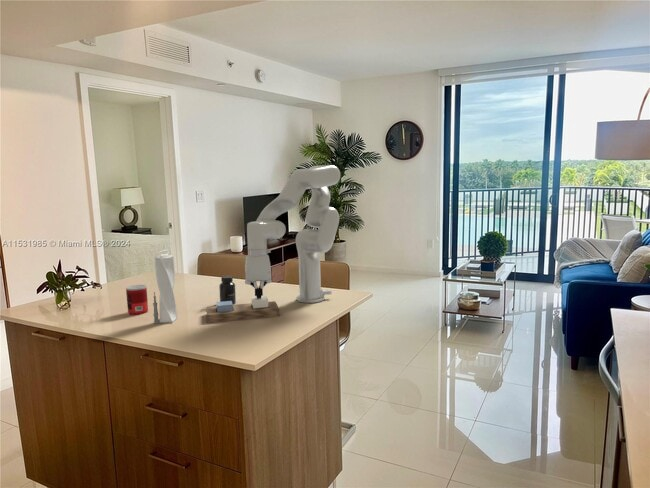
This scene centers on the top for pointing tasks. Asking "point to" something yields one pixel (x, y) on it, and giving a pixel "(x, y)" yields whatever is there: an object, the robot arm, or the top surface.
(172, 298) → the skyscraper
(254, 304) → the white square block
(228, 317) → the wooden board
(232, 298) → the supplement bottle
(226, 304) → the light blue square block
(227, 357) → the top surface
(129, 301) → the canned food
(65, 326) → the top surface
